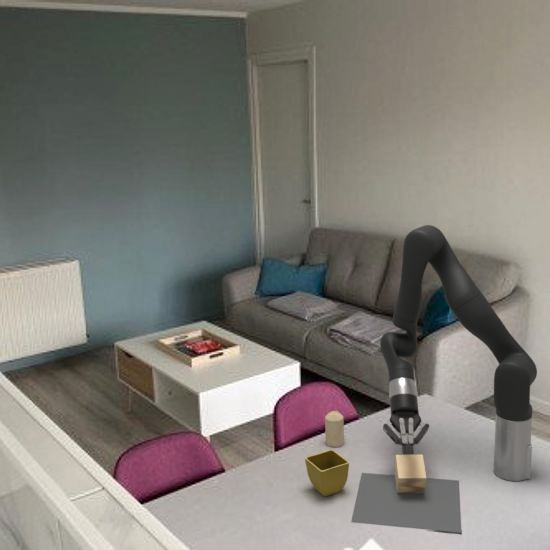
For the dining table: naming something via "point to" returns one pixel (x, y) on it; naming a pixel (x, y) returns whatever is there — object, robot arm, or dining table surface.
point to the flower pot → (327, 472)
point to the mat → (408, 504)
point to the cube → (410, 474)
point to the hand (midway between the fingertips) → (408, 459)
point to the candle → (334, 429)
